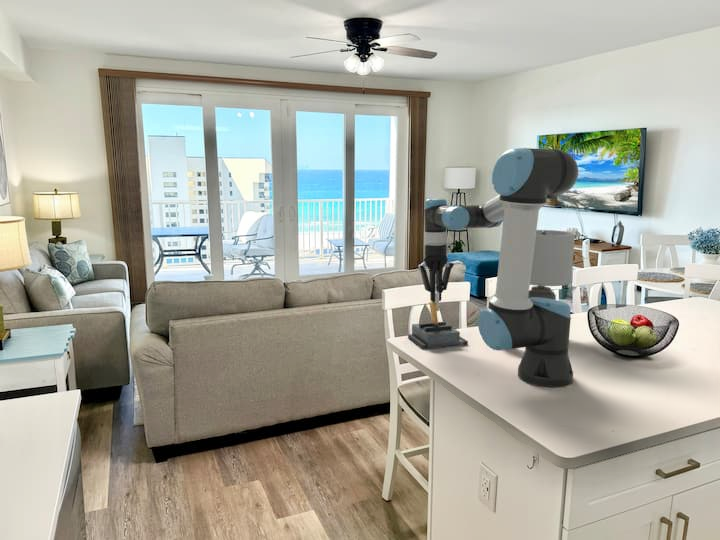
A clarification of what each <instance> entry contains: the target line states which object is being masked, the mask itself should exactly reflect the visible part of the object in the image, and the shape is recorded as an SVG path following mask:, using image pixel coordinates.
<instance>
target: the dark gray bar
mask: <svg viewBox="0 0 720 540" xmlns="http://www.w3.org/2000/svg"><path fill="white" fill-rule="evenodd" d="M407 339H408V340H409V341H410V342H412V343H413V344H415V345H416V346H417V347H419V348H420V349H421V350H426V349H427V348H426V344H424V343H423V342H422V341H420V340H419V339H417V338H416V337H415V336H413V335H412V333H410V334H407Z"/></svg>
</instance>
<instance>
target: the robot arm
mask: <svg viewBox="0 0 720 540" xmlns="http://www.w3.org/2000/svg"><path fill="white" fill-rule="evenodd" d="M578 178H579V166H578V163H577V161H576V159H575V158H574V156H573V155H572V154H570V153H569V152H567V151H565V150H564V149H563V150H562V149H558V148H530V147H529V148H527V147H521V148H511V149H507V150H506V151H504V152H503V153H502V154H501V156H499V157H498V158H497V160H496V161H495V164H494V166H493V170H492V175H491V182H492V185H493V189H494V191H495V193H497V195H496V196H494V197H492V198H491V199H489V200H487V201H486V202H484V203H482V204H475V205H474V204H473V205H470V204H469V205H448V203H447V200H446V199H445V198H428V199H425V201H424V209H423V212H424V214H423V216H424V243H425V245H424V258H423V262H422V263H421V264H420V263H419V264H418V265H417V268H418V270H419V271H420V274H421V277H422V278H421V279H422V282H423V286H424V290H425V291H427V292H429V293H430V295H429V296H430V302H431V301H432V302H434V303H435V304H436V311H437V312H439V311H440V302H441V301H442V293H443V292H444V291H446V290H447V288H448V285H449V281H450V275H451V272H452V269H453V267H454V265H455V264H454V263H453V262H451V261H449V260H448V257H447V254H448V251H447V249H448V246H447V244H446V243H447V239H448V235H447V234H448V232H447V231H448V230H451V231H461V230H464V229H484V228H487V229H492V228H496V227H497V228H498V227H499V226H501V225H502V229H501V239H500V249H499V259H498V265H497V266H498V267H497V277H496V285H495V286H496V287H495V293H494V294H493V295H492V296H490V297H489V298H488V306H487V307H486V308H484V309H482V310H481V311H480V312H479V314H478V319H477V326H478V331H479V335H480V336H481V339H482V340H483V342H484V343H485V345H486V346H487V347H489V348H490V349H492V350H493V351H511V350H510V349H520V348H524V352H523V355H522V356H521V360H520V363H519V364H518V367H517V376H518V377H519V379H521V380H522V381H524V382H526V383H527V384H531V385H535V386H540V387H546V388H547V387H548V388H558V387H559V388H560V387H566V386H570V385H572V383H574V371H573V368H572V363H571V359H570V358H569V357H570V356H569V347H570V346H569V345H570V333H571V332H570V330H571V320H572V316H571V307H570V305H569V304H568V303H566V302H564V301H561V300H558V299H557V300H553V299H548V298H540V297H530V298H528V295H529V290H530V286H531V285H530V278H531V270H532V262H533V254H534V246H535V238H536V230H538V229H537V227H538V221H539V220H538V219H539V212H540V210H541V208H543V206H545V205H546V204H547V200H553V199H556V198H557V197H559V196H562V195H563V194H565V193H567V192H568V191H570V190H571V189H572V188H573V187H574V185H575V184H576V182H577V180H578ZM444 267H445V268H444ZM427 268H428V271H427ZM428 272H429V273H428ZM428 274H429V276H428Z"/></svg>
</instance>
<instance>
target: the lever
mask: <svg viewBox="0 0 720 540" xmlns="http://www.w3.org/2000/svg"><path fill="white" fill-rule="evenodd" d="M429 309H430V316H431V323H432V324H433V325H435V326H439V324H438V322H439V319H438V311H436V304H435V303H434V302H432V301H431V300H430V301H429Z"/></svg>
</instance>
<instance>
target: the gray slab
mask: <svg viewBox="0 0 720 540" xmlns="http://www.w3.org/2000/svg"><path fill="white" fill-rule="evenodd" d="M468 343H469V341H468V340H466V339H465V338H463V337H461V336H460V341H459V346H458V347H463V346H468Z"/></svg>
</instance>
